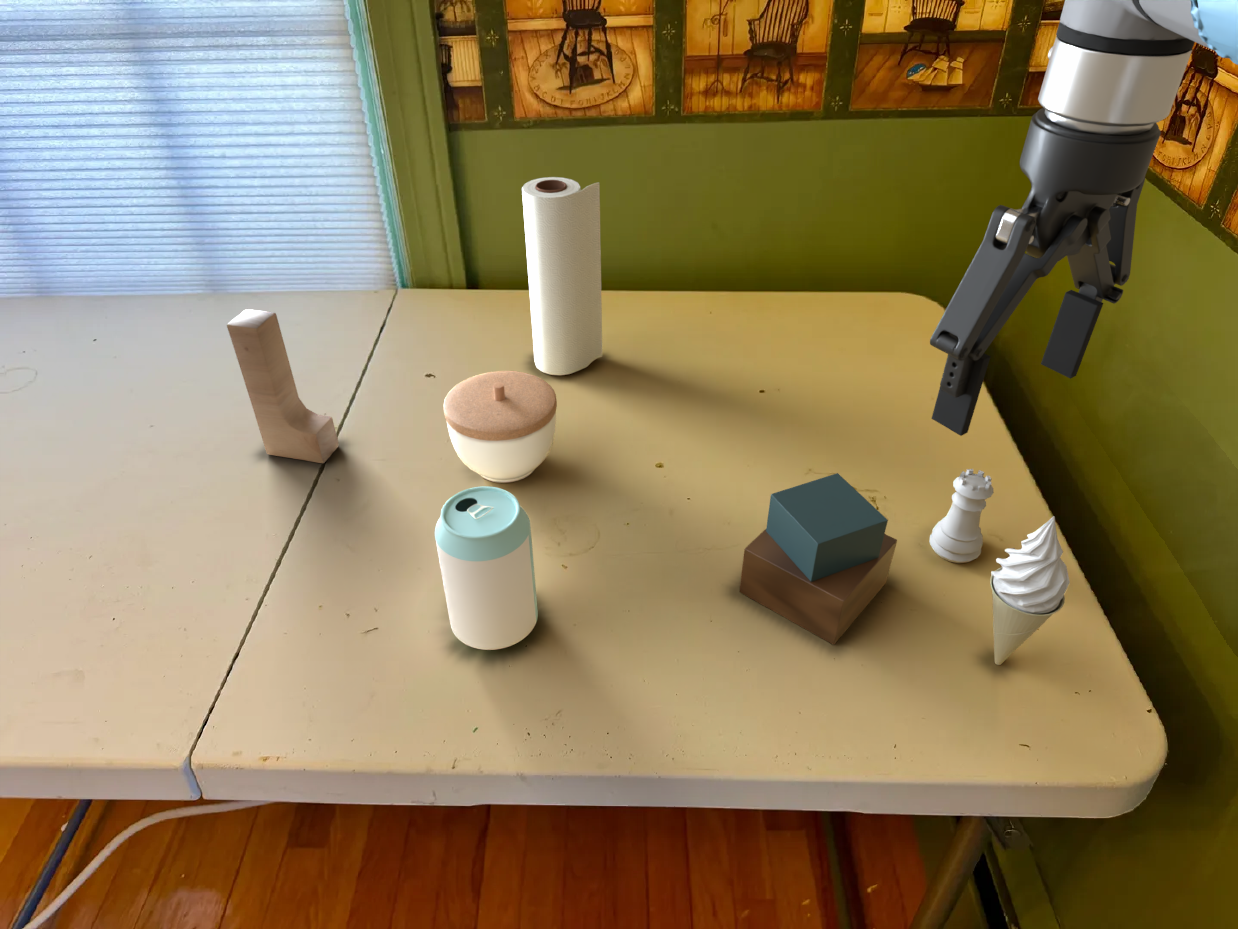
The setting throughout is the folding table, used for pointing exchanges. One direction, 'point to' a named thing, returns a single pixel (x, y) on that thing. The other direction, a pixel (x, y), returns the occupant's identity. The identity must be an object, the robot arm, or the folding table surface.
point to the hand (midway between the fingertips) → (1006, 396)
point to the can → (487, 567)
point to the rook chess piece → (963, 519)
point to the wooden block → (278, 391)
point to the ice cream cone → (1027, 589)
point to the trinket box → (501, 423)
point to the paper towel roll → (563, 273)
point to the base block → (812, 587)
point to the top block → (825, 526)
